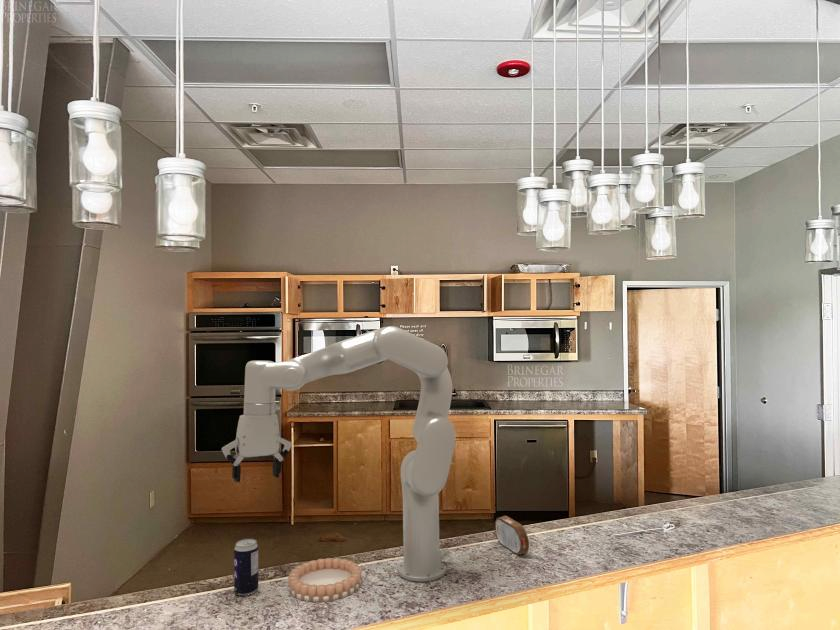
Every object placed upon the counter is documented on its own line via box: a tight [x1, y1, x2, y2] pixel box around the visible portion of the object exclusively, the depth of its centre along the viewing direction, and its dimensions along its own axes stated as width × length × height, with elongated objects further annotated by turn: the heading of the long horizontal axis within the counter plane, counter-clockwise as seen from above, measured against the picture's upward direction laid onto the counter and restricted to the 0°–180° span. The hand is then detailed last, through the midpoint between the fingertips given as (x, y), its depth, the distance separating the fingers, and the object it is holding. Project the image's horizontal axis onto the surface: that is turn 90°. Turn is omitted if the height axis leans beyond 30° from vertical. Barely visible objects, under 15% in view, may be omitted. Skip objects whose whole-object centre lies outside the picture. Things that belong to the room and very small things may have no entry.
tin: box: [494, 515, 530, 556], centre depth 157 cm, size 15×3×8 cm, turn 22°
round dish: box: [287, 557, 363, 603], centre depth 136 cm, size 18×18×3 cm
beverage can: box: [233, 538, 259, 596], centre depth 133 cm, size 6×6×12 cm
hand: (256, 478), depth 135 cm, fingers open, 9 cm apart
